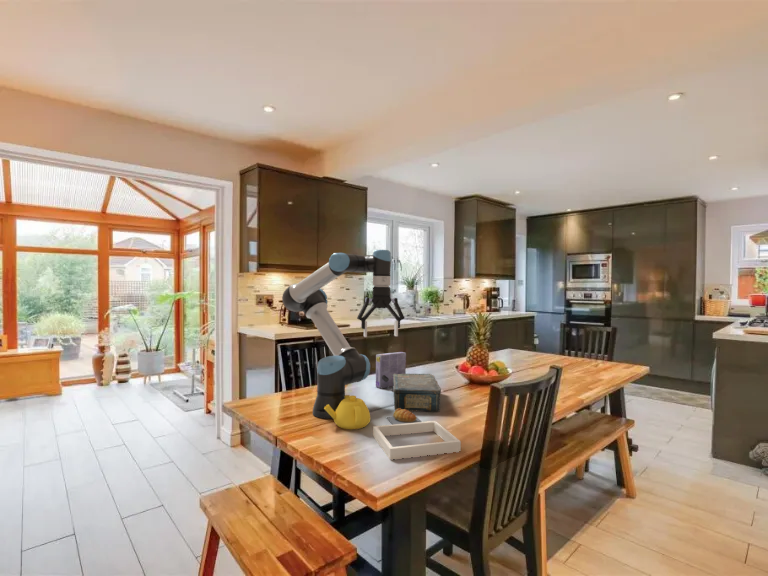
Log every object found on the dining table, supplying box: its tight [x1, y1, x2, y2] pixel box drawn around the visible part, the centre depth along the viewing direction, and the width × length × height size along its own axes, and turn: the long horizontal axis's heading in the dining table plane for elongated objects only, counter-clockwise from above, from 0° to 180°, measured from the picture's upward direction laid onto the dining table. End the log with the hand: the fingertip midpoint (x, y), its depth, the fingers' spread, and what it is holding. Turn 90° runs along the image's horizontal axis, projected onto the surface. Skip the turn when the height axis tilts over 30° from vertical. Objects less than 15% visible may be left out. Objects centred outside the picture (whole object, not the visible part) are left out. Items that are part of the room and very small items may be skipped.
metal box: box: [392, 373, 442, 413], centre depth 188 cm, size 21×32×10 cm, turn 179°
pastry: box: [392, 408, 418, 422], centre depth 160 cm, size 9×7×4 cm
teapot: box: [324, 394, 371, 430], centre depth 155 cm, size 20×18×11 cm
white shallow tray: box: [372, 420, 462, 461], centre depth 138 cm, size 24×20×4 cm
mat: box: [386, 415, 423, 425], centre depth 159 cm, size 12×12×1 cm
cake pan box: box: [375, 351, 407, 389], centre depth 216 cm, size 19×5×18 cm, turn 130°
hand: (380, 336), depth 169 cm, fingers open, 13 cm apart
